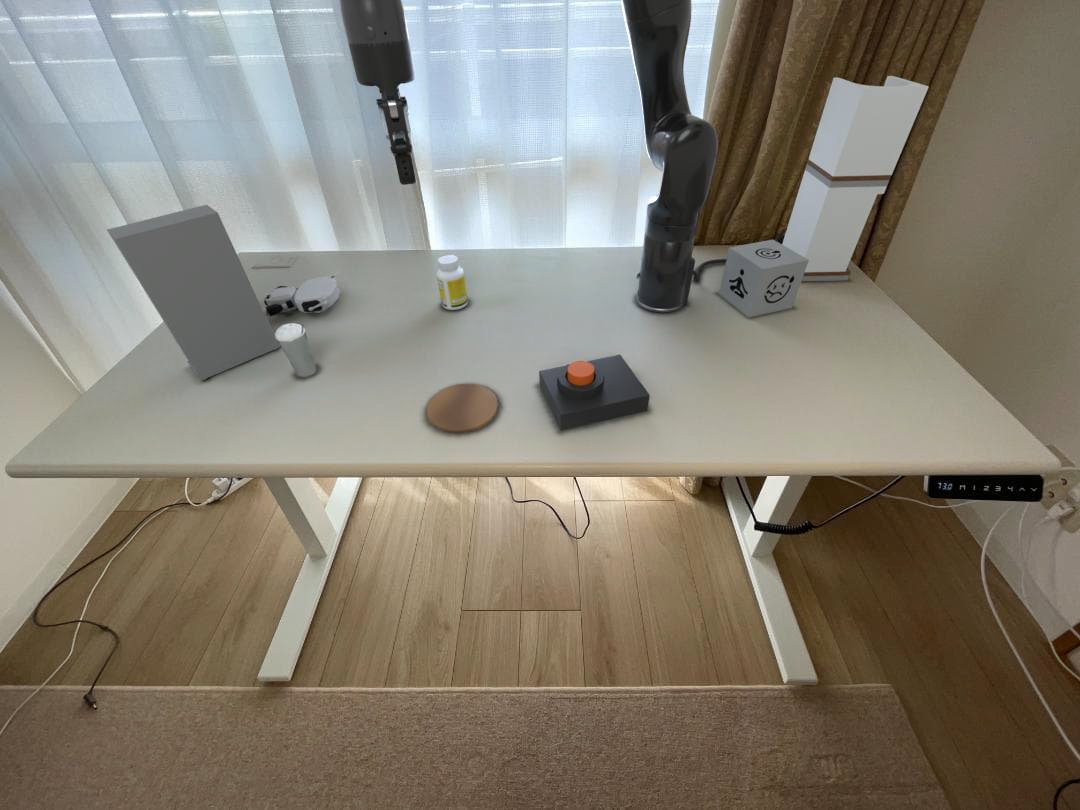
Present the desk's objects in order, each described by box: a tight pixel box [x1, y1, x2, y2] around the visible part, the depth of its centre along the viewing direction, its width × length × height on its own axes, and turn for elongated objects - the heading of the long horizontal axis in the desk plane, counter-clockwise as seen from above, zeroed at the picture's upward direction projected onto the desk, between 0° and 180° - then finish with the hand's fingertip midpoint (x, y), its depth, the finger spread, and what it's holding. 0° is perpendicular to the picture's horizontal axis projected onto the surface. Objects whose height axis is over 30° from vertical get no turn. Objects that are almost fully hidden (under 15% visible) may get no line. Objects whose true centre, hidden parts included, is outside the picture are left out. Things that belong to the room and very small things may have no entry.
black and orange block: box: [538, 354, 651, 431], centre depth 76 cm, size 14×11×5 cm
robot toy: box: [262, 273, 341, 318], centre depth 101 cm, size 12×4×15 cm
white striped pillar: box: [781, 75, 929, 282], centre depth 97 cm, size 11×11×35 cm
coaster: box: [426, 383, 499, 434], centre depth 76 cm, size 11×11×1 cm
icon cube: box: [718, 239, 809, 318], centre depth 96 cm, size 10×10×10 cm
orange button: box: [568, 360, 594, 386], centre depth 74 cm, size 4×4×2 cm
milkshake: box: [274, 322, 317, 378], centre depth 82 cm, size 4×5×10 cm
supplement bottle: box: [436, 254, 469, 311], centre depth 98 cm, size 5×5×10 cm
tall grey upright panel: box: [106, 204, 281, 381], centre depth 81 cm, size 14×6×25 cm, turn 135°
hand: (406, 175), depth 72 cm, fingers open, 8 cm apart
